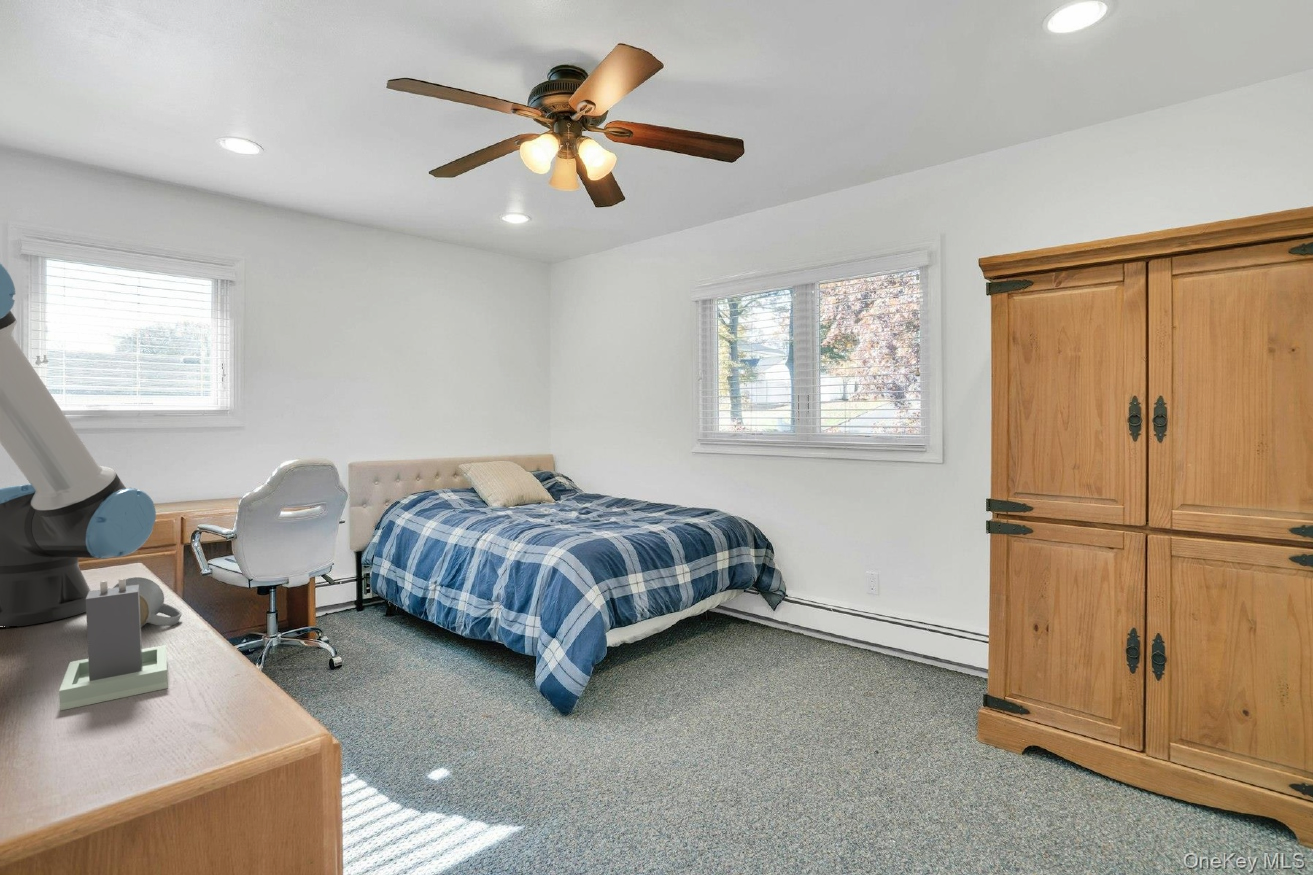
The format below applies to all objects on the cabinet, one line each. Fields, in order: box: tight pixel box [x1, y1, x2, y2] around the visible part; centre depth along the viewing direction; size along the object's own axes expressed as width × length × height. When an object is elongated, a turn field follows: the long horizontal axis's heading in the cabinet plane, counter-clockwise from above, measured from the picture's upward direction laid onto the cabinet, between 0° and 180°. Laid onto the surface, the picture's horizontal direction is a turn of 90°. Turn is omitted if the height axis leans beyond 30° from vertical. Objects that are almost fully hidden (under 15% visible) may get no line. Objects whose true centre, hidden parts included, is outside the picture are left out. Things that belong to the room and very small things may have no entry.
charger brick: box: [85, 578, 143, 681], centre depth 84 cm, size 5×5×12 cm
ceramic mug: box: [112, 576, 183, 628], centre depth 109 cm, size 11×8×8 cm
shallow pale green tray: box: [58, 644, 169, 712], centre depth 85 cm, size 12×10×2 cm
